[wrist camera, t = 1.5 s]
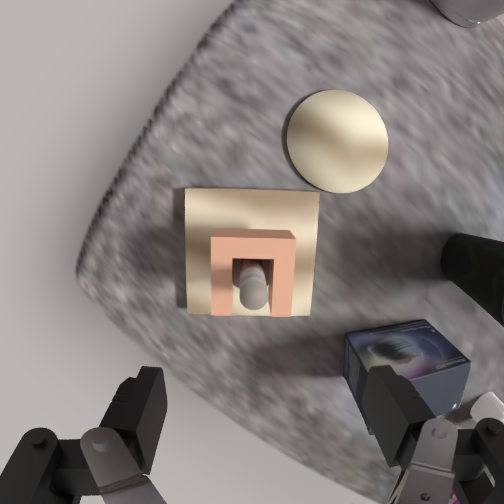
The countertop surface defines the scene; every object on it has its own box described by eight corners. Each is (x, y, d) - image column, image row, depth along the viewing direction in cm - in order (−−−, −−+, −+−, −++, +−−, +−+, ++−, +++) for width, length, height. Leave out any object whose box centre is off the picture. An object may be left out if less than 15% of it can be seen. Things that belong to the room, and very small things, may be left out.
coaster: (287, 85, 27) (288, 84, 27) (386, 98, 27) (388, 97, 27) (284, 189, 30) (285, 190, 29) (384, 196, 30) (385, 196, 30)
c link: (215, 228, 26) (210, 236, 23) (289, 230, 26) (296, 239, 23) (215, 297, 28) (211, 315, 24) (285, 299, 28) (290, 316, 24)
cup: (425, 283, 32) (489, 330, 21) (443, 217, 31) (518, 242, 19) (470, 291, 33) (532, 333, 21) (487, 232, 31) (558, 258, 19)
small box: (426, 314, 33) (475, 359, 23) (420, 360, 35) (460, 410, 25) (343, 330, 33) (377, 387, 23) (342, 377, 35) (368, 438, 25)
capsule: (467, 408, 38) (491, 437, 30) (491, 386, 37) (517, 413, 30) (473, 421, 39) (495, 449, 32) (496, 400, 39) (519, 426, 31)
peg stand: (187, 187, 29) (155, 198, 18) (316, 191, 30) (356, 204, 19) (189, 308, 32) (166, 371, 21) (307, 310, 33) (334, 373, 22)
